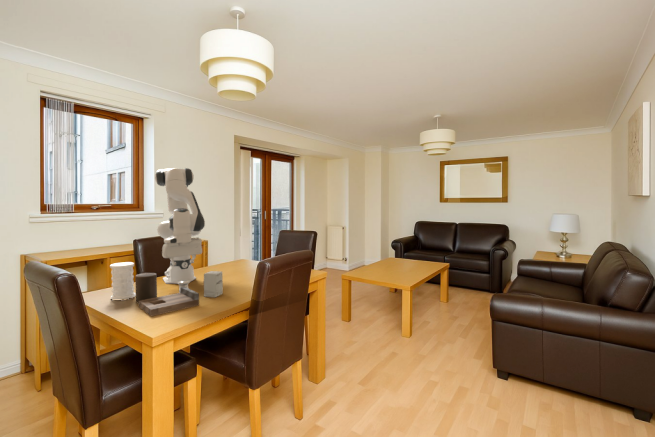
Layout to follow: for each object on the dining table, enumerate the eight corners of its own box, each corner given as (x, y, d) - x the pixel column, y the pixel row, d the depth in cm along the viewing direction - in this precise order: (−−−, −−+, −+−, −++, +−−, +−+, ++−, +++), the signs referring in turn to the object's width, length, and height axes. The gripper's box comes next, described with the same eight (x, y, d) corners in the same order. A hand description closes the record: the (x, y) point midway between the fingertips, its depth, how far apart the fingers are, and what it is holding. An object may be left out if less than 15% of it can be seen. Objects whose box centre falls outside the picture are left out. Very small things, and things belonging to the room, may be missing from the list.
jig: (138, 306, 162) (138, 294, 162) (184, 297, 178) (184, 286, 177) (151, 316, 149) (150, 303, 149) (199, 305, 165) (198, 293, 165)
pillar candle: (145, 304, 166) (145, 274, 165) (131, 302, 169) (130, 273, 168) (161, 299, 175) (161, 271, 174) (147, 297, 178) (147, 269, 177)
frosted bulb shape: (176, 295, 180) (175, 281, 180) (187, 293, 185) (186, 279, 184) (180, 298, 176) (180, 283, 176) (191, 295, 180) (191, 281, 180)
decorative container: (136, 298, 176) (135, 264, 175) (110, 302, 170) (109, 267, 169) (135, 293, 186) (134, 261, 185) (110, 296, 179) (109, 263, 178)
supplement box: (216, 297, 178) (215, 274, 177) (203, 296, 179) (203, 273, 178) (223, 293, 185) (222, 271, 184) (211, 293, 186) (210, 270, 186)
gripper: (198, 236, 188) (199, 261, 189) (160, 239, 174) (161, 266, 174) (203, 237, 184) (204, 262, 184) (164, 240, 169) (165, 267, 170)
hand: (183, 264), depth 179 cm, fingers open, 8 cm apart
